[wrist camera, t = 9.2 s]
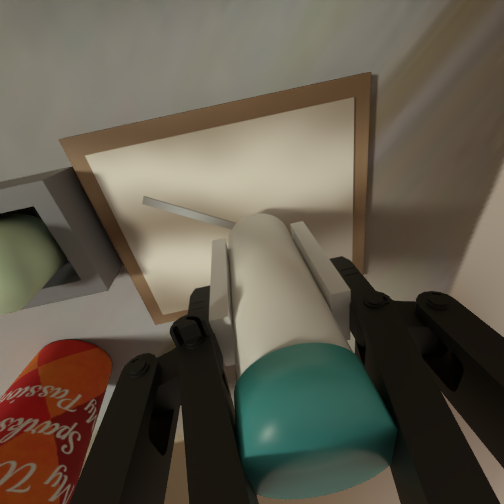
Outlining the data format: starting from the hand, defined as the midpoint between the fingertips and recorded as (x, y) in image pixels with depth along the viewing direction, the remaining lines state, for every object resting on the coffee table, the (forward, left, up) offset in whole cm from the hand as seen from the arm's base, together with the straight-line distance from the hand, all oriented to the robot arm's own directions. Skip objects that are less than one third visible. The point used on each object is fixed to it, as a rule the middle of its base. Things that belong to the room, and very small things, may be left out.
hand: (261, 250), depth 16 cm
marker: (0, 0, -1) cm, 1 cm away
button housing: (-3, -13, -3) cm, 14 cm away
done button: (-3, -13, -1) cm, 14 cm away
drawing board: (-1, -1, -3) cm, 3 cm away
